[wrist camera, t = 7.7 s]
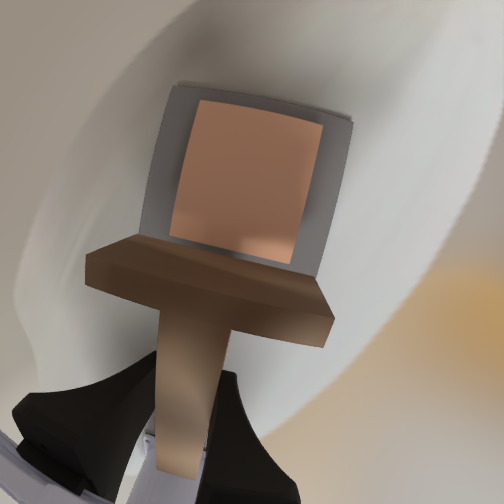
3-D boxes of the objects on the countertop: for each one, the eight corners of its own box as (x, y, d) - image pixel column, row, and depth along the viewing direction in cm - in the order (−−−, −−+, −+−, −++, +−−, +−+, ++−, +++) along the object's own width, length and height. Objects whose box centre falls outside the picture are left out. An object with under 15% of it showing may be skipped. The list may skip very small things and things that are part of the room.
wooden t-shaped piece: (251, 441, 16) (247, 490, 12) (132, 409, 16) (109, 451, 12) (313, 276, 13) (334, 318, 8) (137, 233, 13) (85, 254, 8)
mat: (303, 311, 17) (304, 314, 17) (137, 269, 17) (134, 271, 17) (351, 124, 15) (353, 122, 14) (175, 88, 15) (172, 85, 14)
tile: (289, 264, 15) (323, 125, 13) (169, 235, 15) (200, 100, 13) (287, 259, 16) (319, 130, 14) (175, 232, 16) (204, 106, 14)
